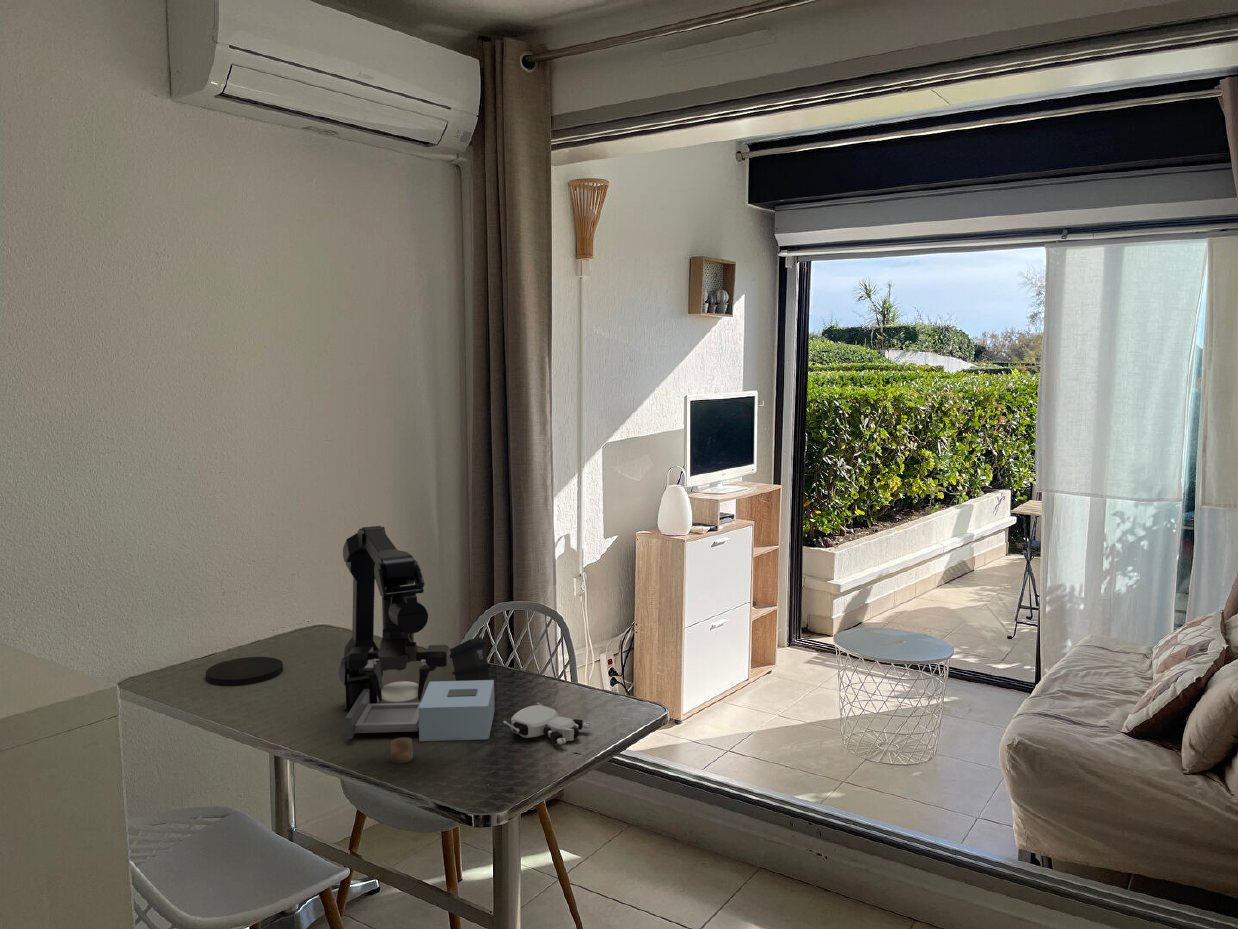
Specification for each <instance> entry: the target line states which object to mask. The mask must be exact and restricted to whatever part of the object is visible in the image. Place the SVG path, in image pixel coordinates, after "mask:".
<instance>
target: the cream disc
mask: <svg viewBox="0 0 1238 929" xmlns="http://www.w3.org/2000/svg"><path fill="white" fill-rule="evenodd" d="M382 686H383V687H382V688H381V694H382V699H383V700H382V701H386V702H389V703H404V702H407V701H412V700H413V699H416V698H418V687H419V683H416V682H413V681H394V682H391V683H387V684H385V685H382Z"/></svg>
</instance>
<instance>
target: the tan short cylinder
mask: <svg viewBox="0 0 1238 929" xmlns="http://www.w3.org/2000/svg"><path fill="white" fill-rule="evenodd" d="M390 753H391V754H390V755H391V756H390V757H391V762H392V763H395V764H406V763H409V762H411V761H412V760H413V756H414V755H413V739H412V738H411V737H405V736H404V737H396V738H394V739H392V740H391V741H390Z"/></svg>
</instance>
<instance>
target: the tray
mask: <svg viewBox="0 0 1238 929" xmlns="http://www.w3.org/2000/svg"><path fill="white" fill-rule="evenodd" d="M420 703H421V701H420V702H389V703H388V702H386V703H382V702H381V703H378V704H370V701H369V689H363V691H362V692H361V694H360V695H359V697H358V699H357V700H356V702H355V703H354V705H353V707H352V708H351V710H350V711H348V713H347V715H346V716H345V718H344V720H345V721H344V722H345V723H344V724H345V740H350V739H351V740H352V739H353V738H354V736H355V734H367V733H368V734H369V733H370V734H371V733H374V734H375V733H399V732H400V733H403V732H404V733H405V732H419V712H418V708H419V705H420Z"/></svg>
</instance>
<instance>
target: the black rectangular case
mask: <svg viewBox="0 0 1238 929" xmlns="http://www.w3.org/2000/svg"><path fill="white" fill-rule="evenodd" d="M486 645H487V643H486V641H485V640H484V641H483V638H482V636H478V637H476V638H474V637H473V638H470V639H469V640H466V641H464V642H462V643H460V644H458V645H456V646H453V647H452V648H450V659H451V660H452V661H451V662H452V664H453V670H454V671H452V676H454V677H455V681H474V680H491V676H490V670H489V669H491V668H492V666H491V663H490V662H489V663H488V659H487V652H486V649H485V646H486Z"/></svg>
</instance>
